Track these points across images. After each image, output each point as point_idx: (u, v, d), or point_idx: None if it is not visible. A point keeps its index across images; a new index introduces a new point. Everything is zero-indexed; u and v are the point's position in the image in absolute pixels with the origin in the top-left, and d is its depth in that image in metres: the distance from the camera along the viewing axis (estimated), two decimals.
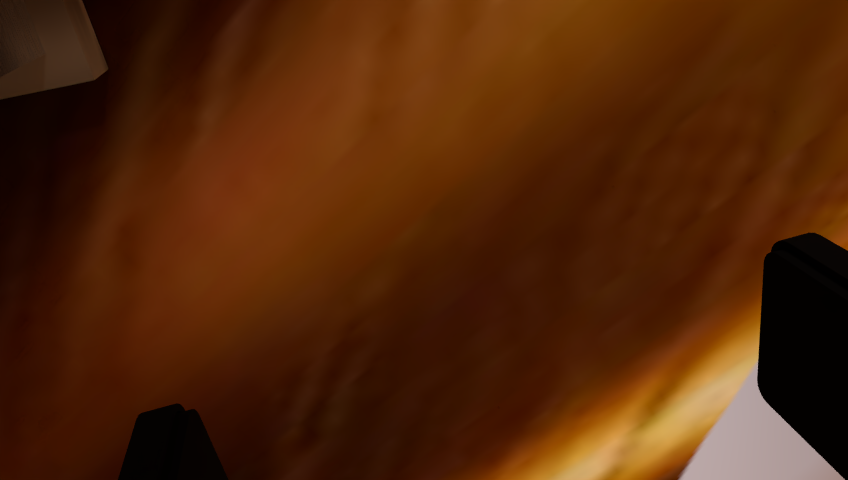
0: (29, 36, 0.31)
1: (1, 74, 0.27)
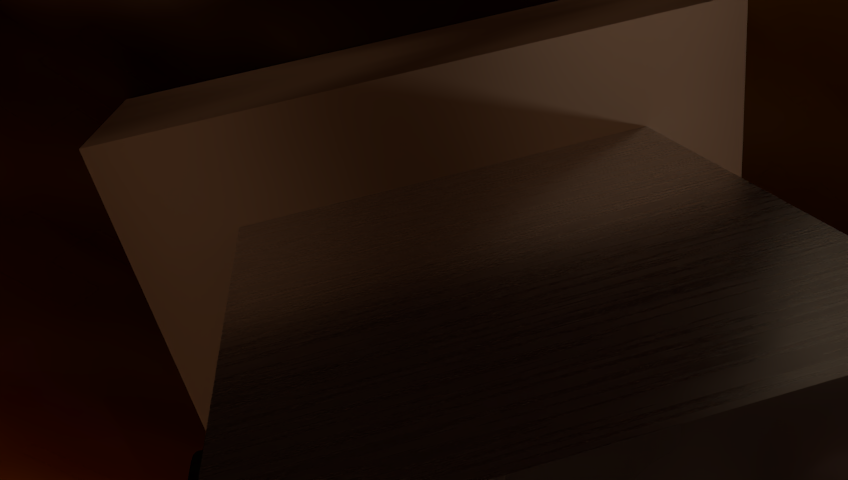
0: None
1: None
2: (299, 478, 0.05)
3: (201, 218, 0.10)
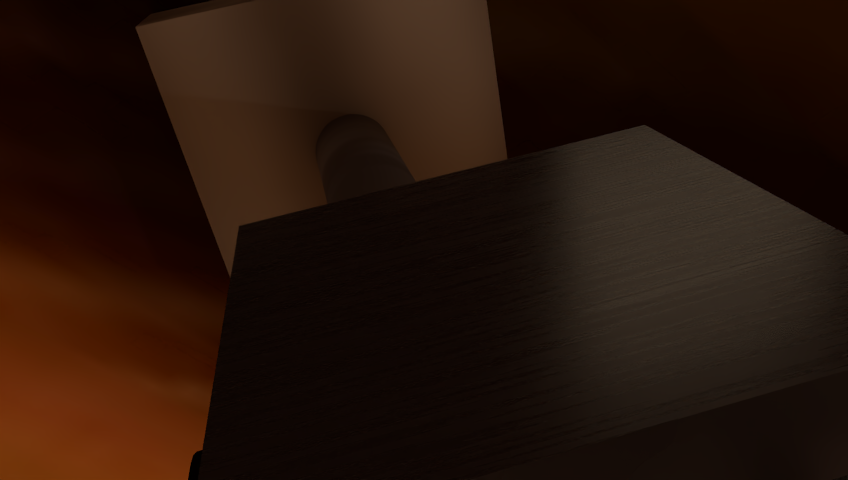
0: None
1: None
2: (298, 473, 0.05)
3: (196, 67, 0.19)
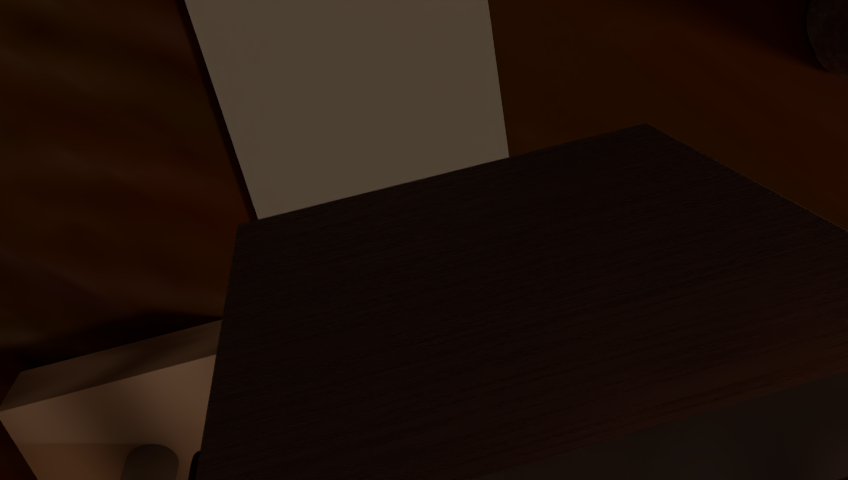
0: None
1: None
2: (297, 474, 0.05)
3: (38, 429, 0.29)
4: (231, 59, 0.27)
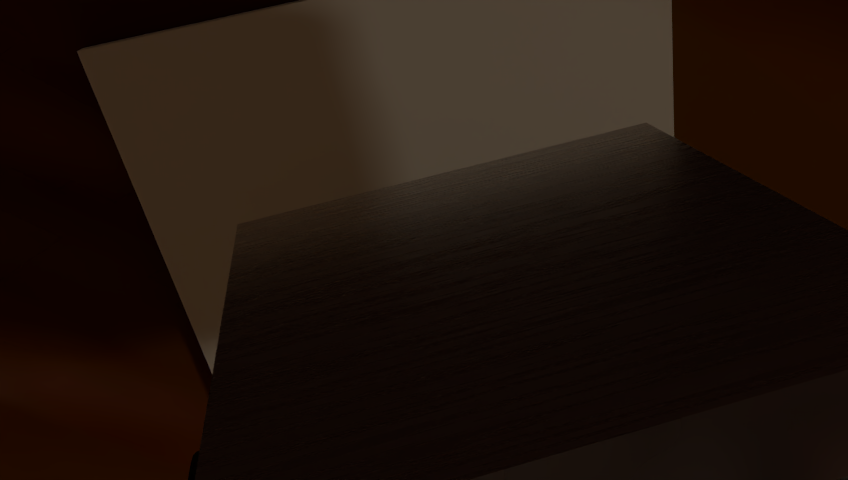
0: None
1: None
2: (297, 473, 0.05)
3: None
4: (188, 187, 0.14)
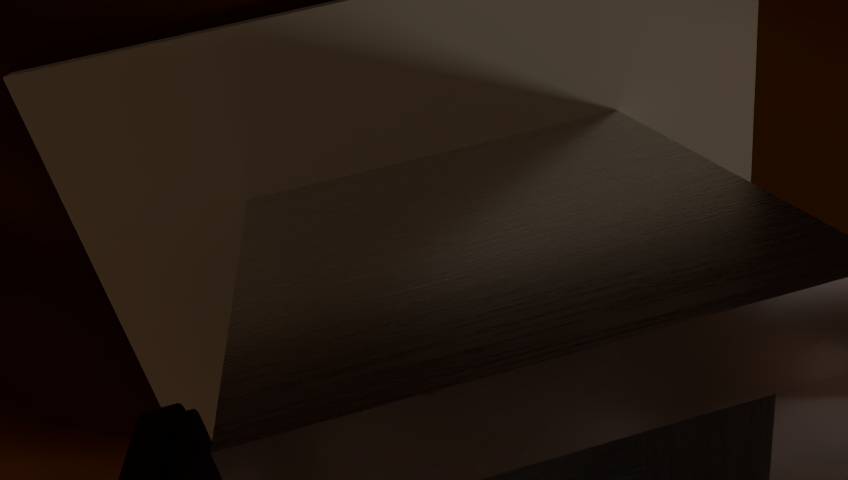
0: None
1: None
2: (304, 388, 0.06)
3: None
4: (153, 245, 0.11)
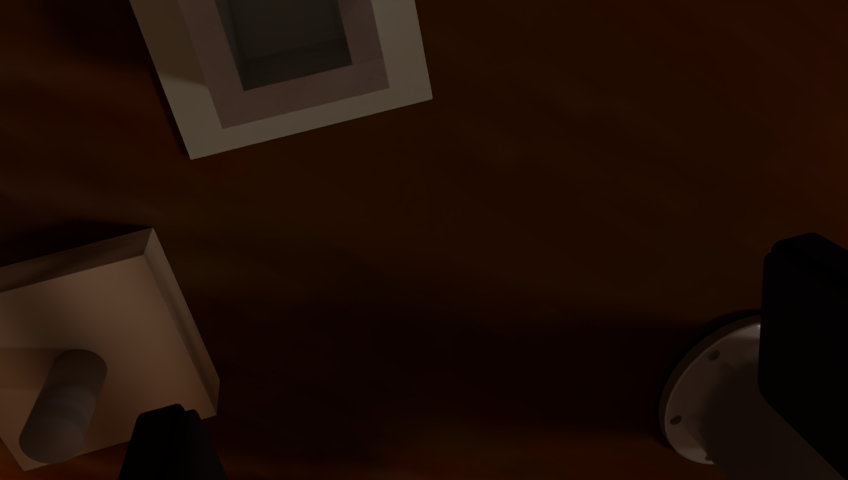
0: None
1: None
2: None
3: None
4: None
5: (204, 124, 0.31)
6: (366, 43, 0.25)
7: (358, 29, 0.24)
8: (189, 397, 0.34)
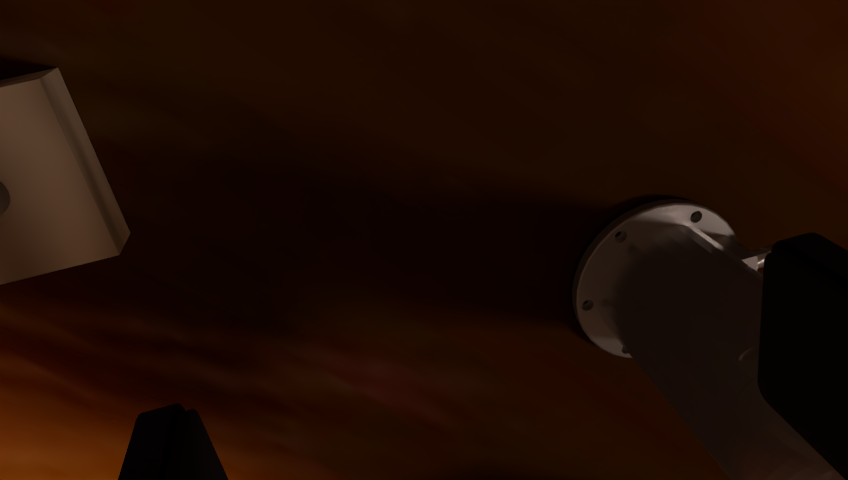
0: None
1: None
2: None
3: None
4: None
5: None
6: None
7: None
8: (92, 233, 0.36)
